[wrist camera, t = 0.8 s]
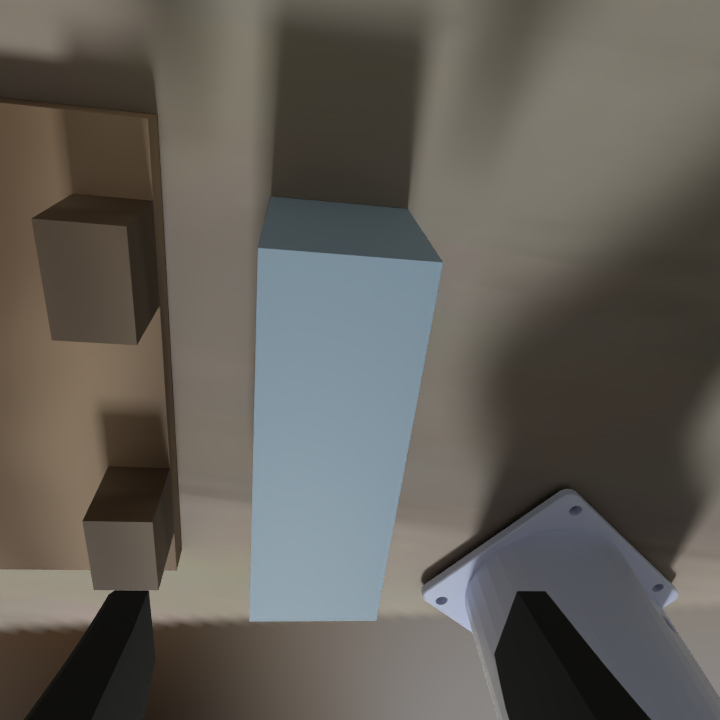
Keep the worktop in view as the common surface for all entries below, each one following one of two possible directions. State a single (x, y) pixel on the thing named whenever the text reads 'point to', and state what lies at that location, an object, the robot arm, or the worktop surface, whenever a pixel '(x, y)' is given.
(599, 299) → the worktop surface
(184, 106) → the worktop surface
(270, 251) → the pale blue rectangular prism
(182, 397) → the worktop surface
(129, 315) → the cradle jig
